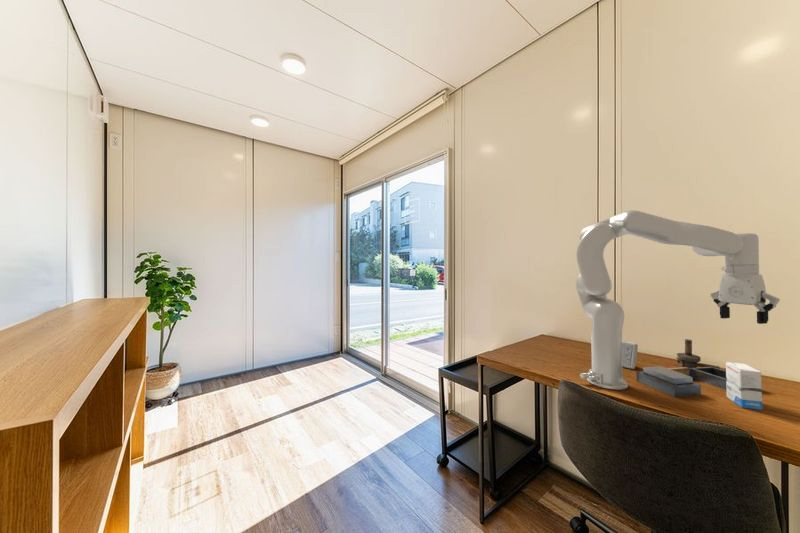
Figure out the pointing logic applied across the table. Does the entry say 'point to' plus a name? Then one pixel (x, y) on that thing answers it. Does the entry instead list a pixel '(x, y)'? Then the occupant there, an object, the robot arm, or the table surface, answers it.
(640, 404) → the table surface
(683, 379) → the grey case and lid
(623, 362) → the digital clock
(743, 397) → the ink box
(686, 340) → the industrial component
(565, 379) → the table surface
